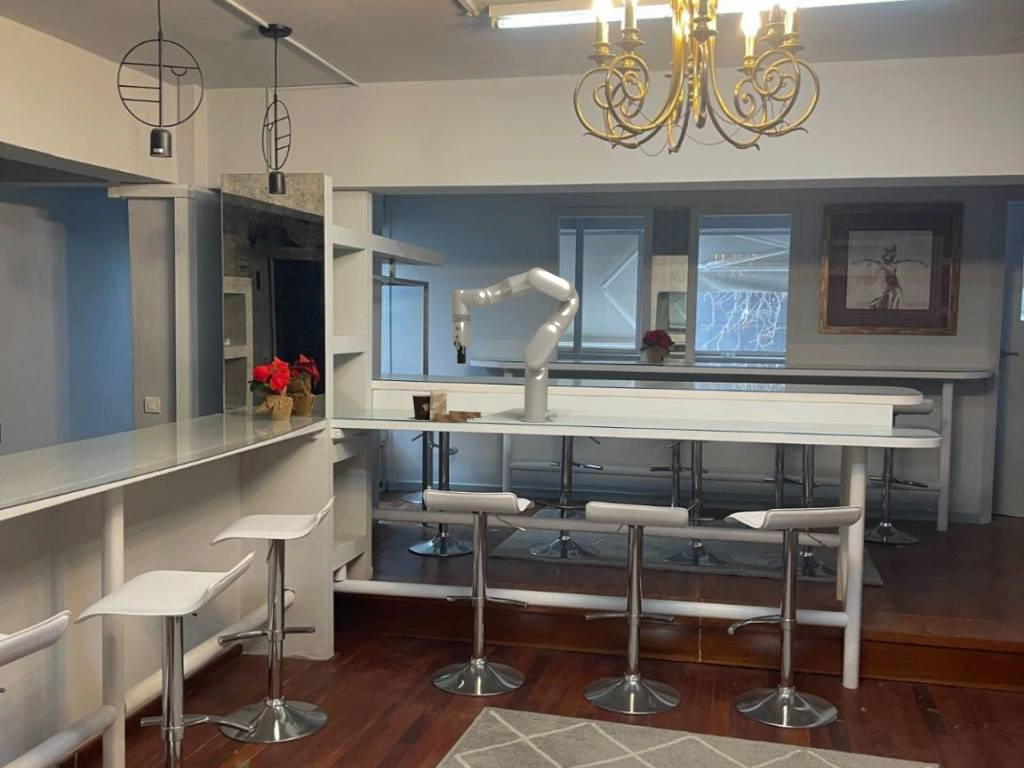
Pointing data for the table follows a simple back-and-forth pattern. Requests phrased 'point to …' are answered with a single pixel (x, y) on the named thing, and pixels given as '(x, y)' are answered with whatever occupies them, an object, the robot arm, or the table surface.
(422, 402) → the coffee mug
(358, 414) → the table surface
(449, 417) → the mug holder
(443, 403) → the ejector plate
